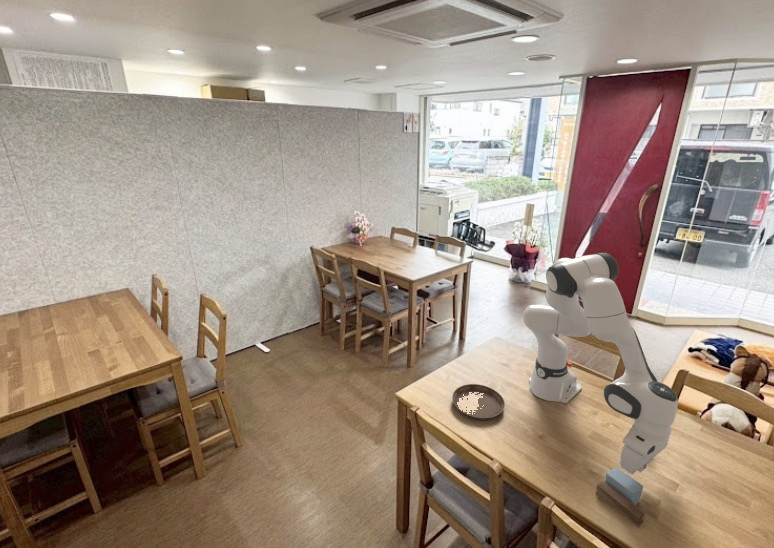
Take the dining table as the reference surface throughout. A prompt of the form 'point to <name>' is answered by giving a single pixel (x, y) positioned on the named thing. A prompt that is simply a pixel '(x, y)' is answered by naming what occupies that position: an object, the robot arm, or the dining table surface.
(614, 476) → the block
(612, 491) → the brown rectangular bar
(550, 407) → the dining table surface
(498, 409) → the plant saucer
